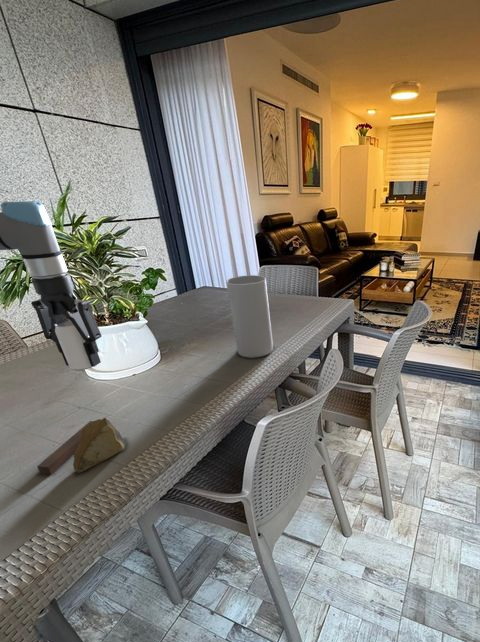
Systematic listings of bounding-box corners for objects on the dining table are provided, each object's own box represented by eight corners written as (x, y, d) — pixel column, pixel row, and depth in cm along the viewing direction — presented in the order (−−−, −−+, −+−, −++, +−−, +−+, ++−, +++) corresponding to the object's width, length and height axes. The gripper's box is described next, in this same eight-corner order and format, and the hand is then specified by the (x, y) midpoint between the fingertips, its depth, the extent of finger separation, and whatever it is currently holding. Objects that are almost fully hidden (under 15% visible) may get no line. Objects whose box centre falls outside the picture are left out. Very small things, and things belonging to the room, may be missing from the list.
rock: (66, 476, 69) (120, 454, 72) (50, 436, 69) (104, 416, 73) (86, 472, 79) (132, 452, 83) (72, 437, 80) (118, 419, 83)
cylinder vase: (230, 355, 122) (217, 282, 110) (251, 342, 132) (242, 274, 120) (260, 361, 117) (250, 286, 105) (279, 346, 127) (273, 276, 115)
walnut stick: (51, 474, 73) (47, 467, 72) (40, 473, 73) (36, 466, 73) (102, 427, 87) (99, 421, 86) (92, 427, 87) (90, 420, 86)
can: (83, 359, 97) (67, 317, 91) (103, 360, 95) (88, 318, 90) (64, 369, 91) (45, 326, 85) (85, 371, 90) (68, 327, 84)
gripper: (98, 272, 84) (126, 359, 95) (26, 271, 86) (61, 356, 97) (76, 279, 77) (108, 371, 89) (-2, 278, 80) (39, 368, 91)
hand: (83, 363), depth 93 cm, fingers closed on can, 6 cm apart
